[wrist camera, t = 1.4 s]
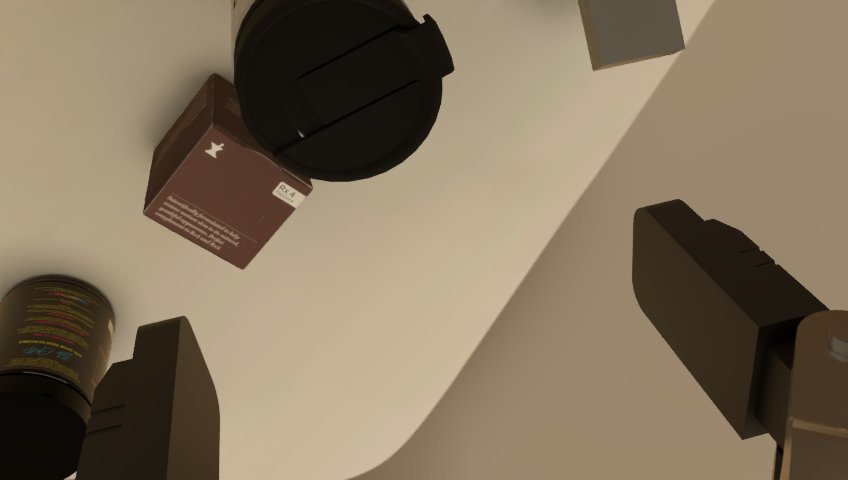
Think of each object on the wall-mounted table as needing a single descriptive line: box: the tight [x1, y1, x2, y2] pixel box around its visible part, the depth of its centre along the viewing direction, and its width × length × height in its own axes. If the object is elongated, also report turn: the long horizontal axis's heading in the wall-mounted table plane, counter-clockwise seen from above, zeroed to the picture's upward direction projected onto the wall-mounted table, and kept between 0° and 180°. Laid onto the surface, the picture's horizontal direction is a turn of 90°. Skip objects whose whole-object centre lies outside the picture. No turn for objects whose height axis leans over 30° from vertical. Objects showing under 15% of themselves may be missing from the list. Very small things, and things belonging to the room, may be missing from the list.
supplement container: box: [0, 278, 115, 480], centre depth 42 cm, size 7×7×10 cm
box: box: [143, 74, 313, 270], centre depth 40 cm, size 6×6×7 cm
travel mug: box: [231, 0, 454, 182], centre depth 30 cm, size 6×7×20 cm
